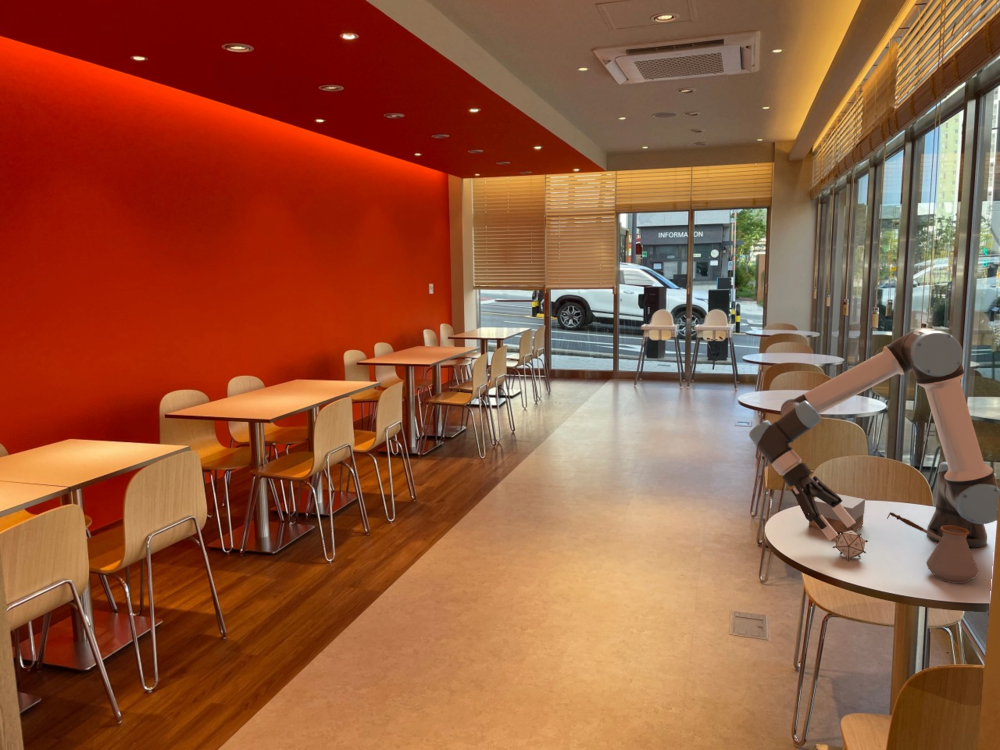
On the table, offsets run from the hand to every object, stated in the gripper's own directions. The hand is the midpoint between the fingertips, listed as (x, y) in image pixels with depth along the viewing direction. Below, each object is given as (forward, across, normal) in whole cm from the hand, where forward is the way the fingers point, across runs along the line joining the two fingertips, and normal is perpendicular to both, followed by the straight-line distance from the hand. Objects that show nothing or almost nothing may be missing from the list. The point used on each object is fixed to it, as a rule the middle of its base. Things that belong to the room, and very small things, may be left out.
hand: (843, 531), depth 206 cm
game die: (+7, 0, -4) cm, 8 cm away
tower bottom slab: (-2, -24, -13) cm, 27 cm away
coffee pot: (+20, -4, +10) cm, 23 cm away
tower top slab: (-5, -24, -9) cm, 26 cm away
